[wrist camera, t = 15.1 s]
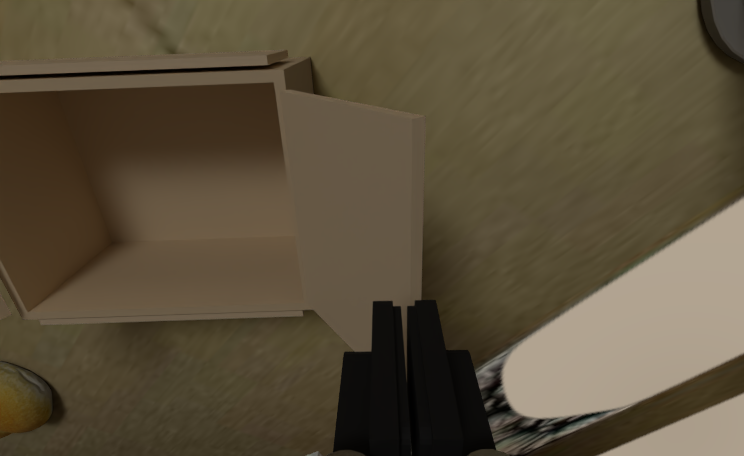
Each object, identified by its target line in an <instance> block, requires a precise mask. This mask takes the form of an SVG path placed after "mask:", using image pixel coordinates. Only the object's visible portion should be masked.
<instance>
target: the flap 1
mask: <svg viewBox="0 0 744 456" xmlns="http://www.w3.org/2000/svg"><path fill="white" fill-rule="evenodd" d="M10 315H12V314H11V312H10V310H9V308H8V306H7V305H6V303H5V301H4V299H3V297H2V295H1V294H0V320H1V319H3V318H5V317H8V316H10Z"/></svg>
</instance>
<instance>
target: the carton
mask: <svg viewBox="0 0 744 456" xmlns="http://www.w3.org/2000/svg"><path fill="white" fill-rule="evenodd" d="M283 90H295V91H300V92H305V93H310V94H314V90H313V80H312V69H311V59H310V57H296V58H288V51H287V50H270V51H245V52H220V53H194V54H169V55H144V56H119V57H93V58H68V59H43V60H18V61H0V278H1V280H2V282H3V283H4V285H5V287H6V289H7V291H8V293H9V295H10V297H11V298H12V300H13V302H14V304H15V306H16V308H17V310H18V312H19V313H20V315H21V317H22V319H23V320H28V319H39V321H40V323H41V325H58V324H88V323H117V322H146V321H175V320H205V319H234V318H263V317H292V316H303V315H304V311H305V310H313V309H312V308H311V307H310V306H309V305H308V300H307V293H306V285H305V277H304V270H303V262H302V255H301V247H300V239H299V232H298V224H297V217H296V209H295V202H294V194H293V186H292V179H291V171H290V164H289V156H288V149H287V141H286V133H285V126H284V118H283V111H282V103H281V95H280V91H283Z"/></svg>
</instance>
